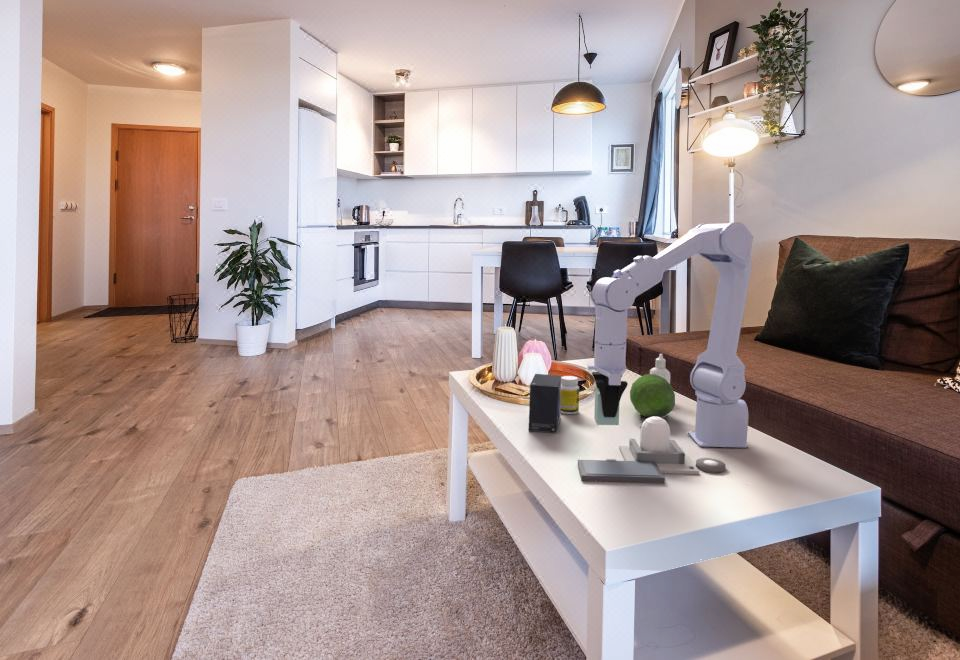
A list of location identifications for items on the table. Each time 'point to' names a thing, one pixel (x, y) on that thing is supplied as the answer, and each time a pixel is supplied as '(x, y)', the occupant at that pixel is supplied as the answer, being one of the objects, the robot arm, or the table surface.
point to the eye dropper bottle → (661, 368)
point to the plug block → (599, 413)
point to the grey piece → (661, 458)
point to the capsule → (655, 435)
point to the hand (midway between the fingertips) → (607, 412)
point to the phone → (620, 471)
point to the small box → (545, 403)
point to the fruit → (652, 396)
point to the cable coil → (710, 465)
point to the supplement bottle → (569, 395)
